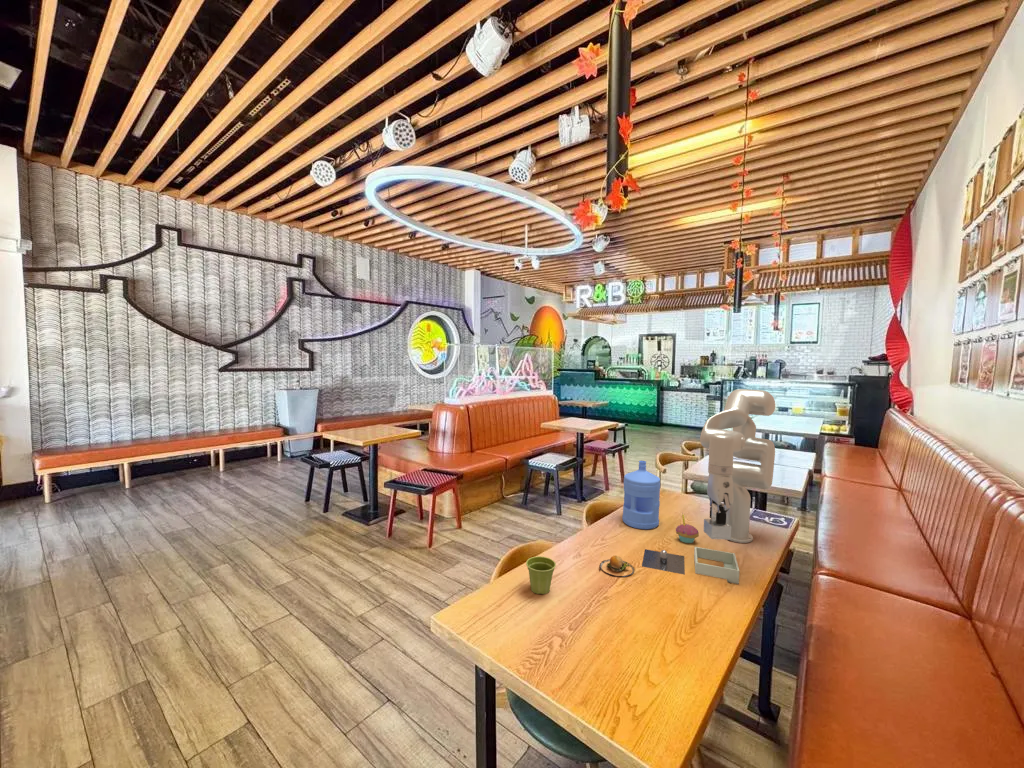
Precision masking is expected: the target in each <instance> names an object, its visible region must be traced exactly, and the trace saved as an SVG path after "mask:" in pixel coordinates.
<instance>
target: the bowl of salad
mask: <svg viewBox="0 0 1024 768" xmlns="http://www.w3.org/2000/svg"><path fill="white" fill-rule="evenodd" d="M605 563H607V564H606V568H609V569H610V570H611V571H613V572H618V573H619V572H620V573H621V572H622V571H623V570H626V568H627V567H630V568H631V570H632V572H631V573H630V574H627V575H615V574H612V573H609V572H606V571H605V570H603V565H604V564H605ZM598 570H599V572H601V571H602V572H603V573H604V574H606V575H608V576H610V577H614V578H615V577H618V578H627V577H629V576H631V575H633V574H634V572H635V567H634V566H633V565H632V564H630V563H629V562H627V561H625V560H623V559H622V557H620V556H618V555H613V556H611V557H610V559H603V560H602V561H601V562H600V563H599V566H598Z"/></svg>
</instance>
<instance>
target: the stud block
mask: <svg viewBox="0 0 1024 768" xmlns="http://www.w3.org/2000/svg"><path fill="white" fill-rule="evenodd" d="M643 552H644V553H643V558H642V563H641V567H643V568H647V569H654V570H659V571H664V572H670V573H674V574H679V575H683V576H684V575H685V574H686V573H685V571H686V570H685V569H686V567H685V565H686V564H685V555H679V554H674V553H669V552H668V551H666V550H665V549H662V550H661V551H656V550H651V549H648V548H647V549H646V548H644V551H643Z"/></svg>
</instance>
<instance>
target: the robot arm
mask: <svg viewBox="0 0 1024 768" xmlns="http://www.w3.org/2000/svg"><path fill="white" fill-rule="evenodd" d="M775 409H776V400H775V398H774V396H773V395H772V393H770V392H769V391H766V390H762V389H746V388H737V389H734V390H733V391H731V393H729V396H728V397H727V401H726V403H725V406H724V408H723V410H721V411H719V412H718V413H715V414H714V415H712V416H711V417H709V418H707V420H706V421H705V422H704V425H703V427H702V429H701V433H700V438H699V441H700V444H701V446H702V447H703V448H704V449H708V464H707V465H708V468H707V472H708V478H707V489H706V490H707V491H706V493H707V497H708V498H709V519H711V514H712V503H714V502H716V503H717V510H718V512H716V523H717V524H726V523H727V524H729V525H730V526H731V540H728V539H726V540H727V541H731V542H734V543H741V544H745V543H746V544H747V543H751V542H752V541H753V540H754V537H753V535H752V534H751V533H749V532H750V517H751V501H752V499H751V494H750V493H749V491H748V489H747V488H753V489H758V490H769V489H771V487H772V484H773V479H774V478H773V477H774V468H775V457H776V447H775V444H774V441H772V440H771V439H767V438H760V437H756V433H757V432H756V431H757V425H756V423H755V422H754V420H753V419H752V418H751V417H750V415H754V416H765V417H766V416H767V417H769V416H772V415H773V414H774V412H775ZM729 429H732V430H729ZM734 458H735V459H736V458H737V459H740V460H745V461H746V460H747V461H752V462H753V461H754V462H757V463H760V464H756V463H749V462H745V461H744V462H743V461H736V460H734ZM720 506H723V507H721V508H720Z"/></svg>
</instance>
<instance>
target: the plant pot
mask: <svg viewBox="0 0 1024 768" xmlns="http://www.w3.org/2000/svg"><path fill="white" fill-rule="evenodd" d="M525 562H526V563H525V564H526V567H527V570H528V576H529V585H530V590H531V592H533V593H534V594H537V595H540V594H541V595H546V594H548V593H549V592H550V590H551V585H552V579H553V574H554V571H555V569H556V566H557V564H556V562H555V561H554V560H553V559H552V558H550V557H546V556H538V555H537V556H533V557H530V558H528V559H527V560H526V561H525Z"/></svg>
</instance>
